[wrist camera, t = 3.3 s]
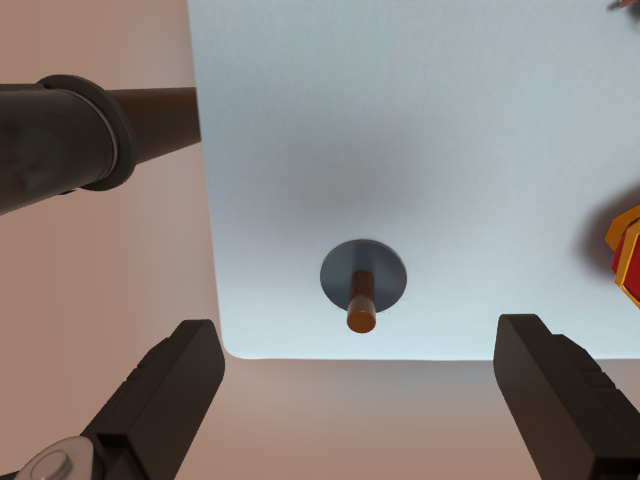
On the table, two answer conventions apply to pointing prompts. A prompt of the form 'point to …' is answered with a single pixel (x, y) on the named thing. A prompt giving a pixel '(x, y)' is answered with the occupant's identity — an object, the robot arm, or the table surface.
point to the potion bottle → (626, 252)
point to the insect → (626, 2)
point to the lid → (363, 281)
